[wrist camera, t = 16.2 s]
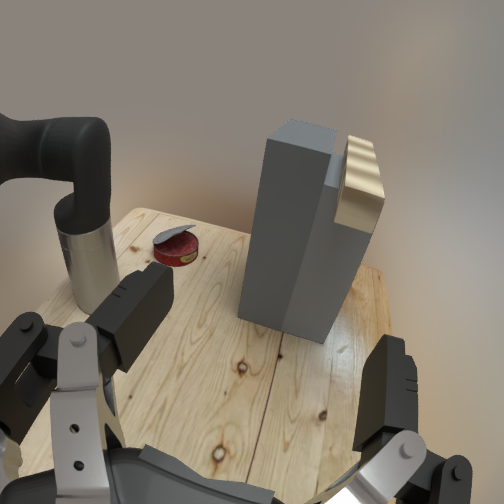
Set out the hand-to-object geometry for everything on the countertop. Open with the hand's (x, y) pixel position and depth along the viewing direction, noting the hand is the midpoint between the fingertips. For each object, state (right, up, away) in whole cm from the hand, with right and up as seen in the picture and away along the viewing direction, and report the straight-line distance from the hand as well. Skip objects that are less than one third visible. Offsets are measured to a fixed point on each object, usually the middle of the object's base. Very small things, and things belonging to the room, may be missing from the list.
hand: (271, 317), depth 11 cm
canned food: (-17, +2, +57) cm, 59 cm away
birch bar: (+13, +11, +28) cm, 33 cm away
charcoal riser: (+7, -7, +49) cm, 50 cm away
